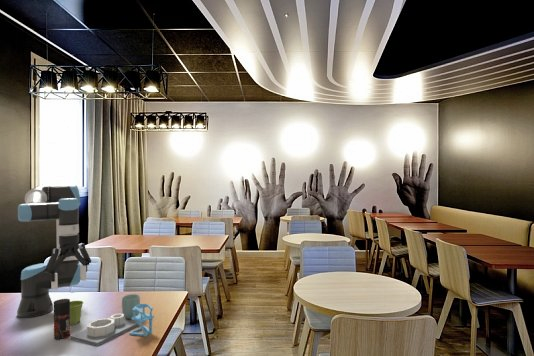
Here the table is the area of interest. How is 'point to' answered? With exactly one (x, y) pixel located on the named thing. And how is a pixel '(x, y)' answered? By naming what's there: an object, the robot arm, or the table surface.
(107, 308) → the table surface
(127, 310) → the cup
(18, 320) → the table surface
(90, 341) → the bore plate
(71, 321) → the plant pot
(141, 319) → the chair
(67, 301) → the deodorant
